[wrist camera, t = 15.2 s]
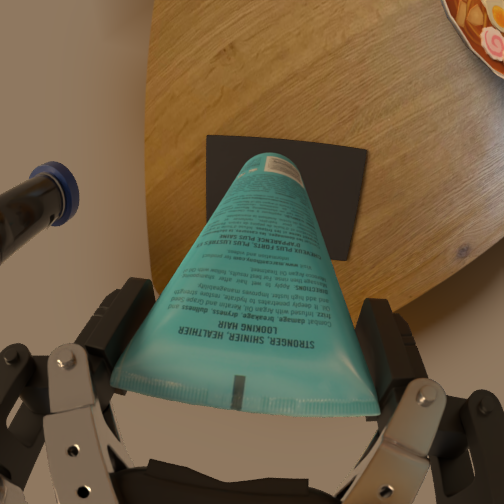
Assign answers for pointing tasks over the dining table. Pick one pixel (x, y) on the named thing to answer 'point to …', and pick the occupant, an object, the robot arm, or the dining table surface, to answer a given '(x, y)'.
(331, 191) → the mat
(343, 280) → the dining table surface
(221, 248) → the tube
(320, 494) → the robot arm
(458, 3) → the ramen bowl
